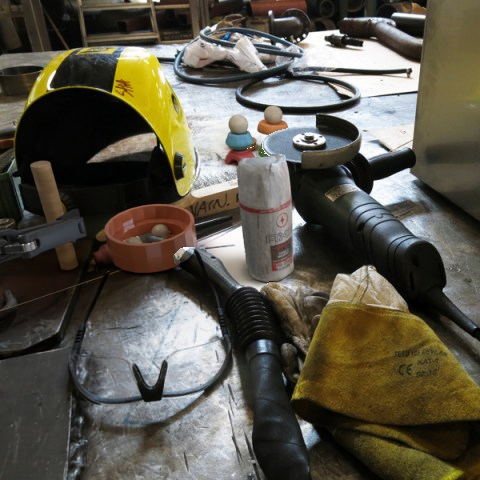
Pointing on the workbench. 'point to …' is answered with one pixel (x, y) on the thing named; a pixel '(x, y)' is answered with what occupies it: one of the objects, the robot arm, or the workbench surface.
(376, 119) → the workbench surface
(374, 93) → the workbench surface
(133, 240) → the bead
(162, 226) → the bead
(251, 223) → the spray can
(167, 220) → the bowl
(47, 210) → the stick
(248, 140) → the multicoloured wooden toy
